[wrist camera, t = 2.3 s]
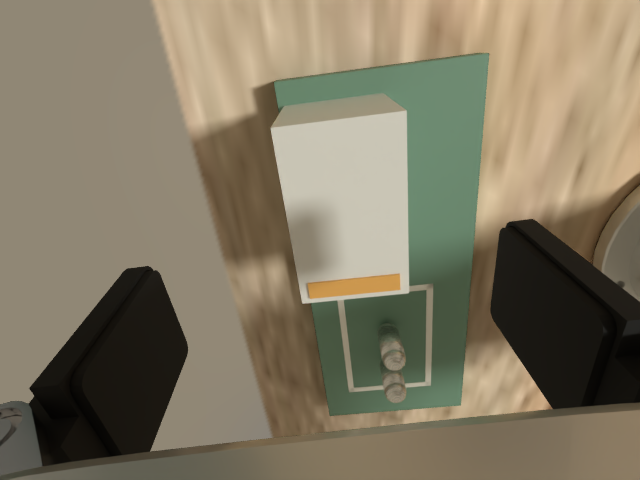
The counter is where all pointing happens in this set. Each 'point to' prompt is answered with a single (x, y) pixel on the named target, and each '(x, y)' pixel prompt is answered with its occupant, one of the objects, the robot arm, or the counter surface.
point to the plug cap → (345, 195)
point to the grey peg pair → (392, 362)
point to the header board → (411, 236)
